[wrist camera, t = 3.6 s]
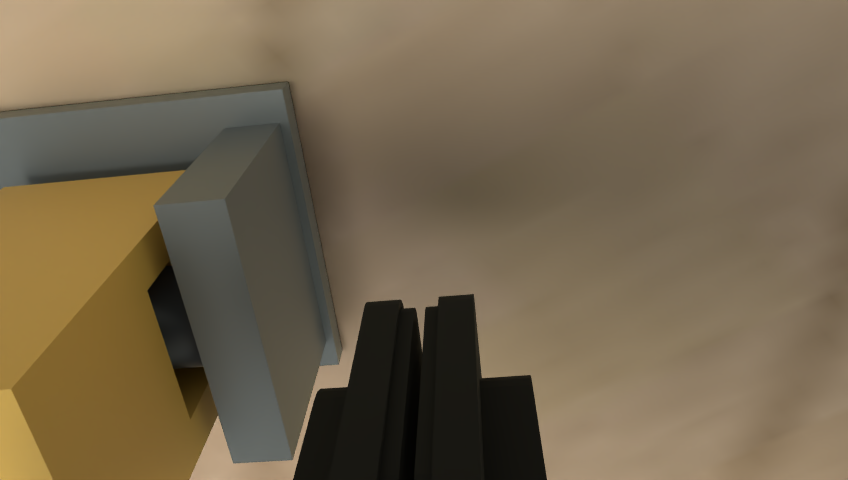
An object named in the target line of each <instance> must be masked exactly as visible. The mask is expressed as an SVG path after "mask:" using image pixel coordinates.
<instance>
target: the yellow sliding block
mask: <svg viewBox="0 0 848 480" xmlns="http://www.w3.org/2000/svg"><path fill="white" fill-rule="evenodd" d="M185 171H186V170H180V171H170V172H159V173H149V174H138V175H128V176H117V177H107V178H96V179H85V180H75V181H64V182H54V183H43V184H33V185H22V186H12V187H4V188H2V189H1V190H0V480H189V479H190V477H191V474H192V472H193V470H194V468H195V465H196V463H197V461H198V459H199V456H200V454H201V452H202V450H203V447H204V445H205V443H206V441H207V438H208V436H209V434H210V432H211V429H212V427H213V425H214V423H215V420H216V418H217V416H218V412H217V409H216V406H215V403H214V400H213V396H212V393H211V390H210V387H209V383H208V380H207V377H206V374H205V371H204V367H193V368H179V369H173V366H172V363H171V360H170V357H169V354H168V351H167V348H166V345H165V342H164V339H163V336H162V333H161V330H160V327H159V324H158V321H157V318H156V315H155V312H154V309H153V306H152V303H151V300H150V297H149V294H148V291H147V290H148V289H149V288H150V286H151V285H152V284H153V282H154V281H155V279H156V278H157V277H158V275H159V274H160V273H161V271H162V270H163V269H164V267H165V266H172V264H171V261H170V258H169V254H168V251H167V248H166V245H165V242H164V238H163V235H162V232H161V229H160V225H159V222H158V219H157V216H156V213H155V209H154V206H153V205H154V204H155V203H156V202H157V201H158V200H159V199H160V198H161V197H162V195H163V194H164V193H165V192H166V191H167V190H168V189H169V188H170V187H171V186H172V185H173V184H174V182H175V181H176V180H177V179H178V178H179V177H180V176H181V175H182V174H183V173H184V172H185Z"/></svg>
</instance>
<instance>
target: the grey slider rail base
mask: <svg viewBox="0 0 848 480" xmlns="http://www.w3.org/2000/svg"><path fill="white" fill-rule="evenodd" d="M180 170H186V171H185V172H184V173H183V174H182V175H181V176H180V177H179V178H178V179H177V180H176V181H175V182H174V184H173V185H172V186H171V187H170V188H169V189H168V190H167V191H166V192H165V193H164V194H163V195H162V197H161V198H160V199H159V200H158V201H157V202H156V203H155V204H154V205H153V206H154V209H155V213H156V216H157V219H158V222H159V225H160V229H161V232H162V235H163V238H164V242H165V245H166V248H167V251H168V254H169V258H170V261H171V264H172V266H165V267H164V269H163V270H162V271H161V273H160V274H159V275H158V277H157V278H156V279H155V281H154V282H153V284H152V285H151V286H150V288H149V289H148V290H147V291H148V294H149V297H150V300H151V303H152V306H153V309H154V312H155V315H156V318H157V321H158V324H159V327H160V330H161V333H162V336H163V339H164V342H165V345H166V348H167V351H168V354H169V357H170V360H171V363H172V366H173V369H179V368H193V367H204V371H205V374H206V377H207V380H208V383H209V387H210V390H211V393H212V396H213V400H214V403H215V406H216V409H217V412H218V416H219V419H220V422H221V425H222V429H223V432H224V435H225V438H226V441H227V445H228V448H229V451H230V454H231V458H232V461H233V463H249V462H266V461H284V460H293V457H294V453H295V450H296V446H297V443H298V439H299V436H300V432H301V429H302V425H303V422H304V418H305V415H306V411H307V407H308V404H309V400H310V397H311V393H312V390H313V386H314V383H315V379H316V376H317V372H318V369H319V366H323V365H338V364H339V362H340V357H341V353H342V347H341V342H340V337H339V332H338V327H337V322H336V317H335V312H334V307H333V302H332V297H331V292H330V287H329V282H328V277H327V272H326V267H325V262H324V257H323V252H322V247H321V242H320V237H319V232H318V227H317V222H316V217H315V212H314V207H313V202H312V197H311V192H310V187H309V182H308V177H307V172H306V168H305V163H304V158H303V153H302V148H301V143H300V138H299V133H298V128H297V123H296V118H295V113H294V108H293V103H292V98H291V93H290V88H289V83H288V82H281V83H271V84H262V85H252V86H243V87H233V88H224V89H214V90H205V91H195V92H186V93H176V94H167V95H157V96H148V97H138V98H129V99H119V100H110V101H100V102H91V103H81V104H72V105H62V106H52V107H43V108H33V109H24V110H14V111H5V112H0V190H1V189H2V188H4V187H12V186H22V185H33V184H43V183H54V182H64V181H75V180H85V179H96V178H107V177H117V176H128V175H138V174H149V173H159V172H170V171H180Z"/></svg>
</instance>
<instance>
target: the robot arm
mask: <svg viewBox="0 0 848 480" xmlns="http://www.w3.org/2000/svg"><path fill="white" fill-rule="evenodd" d="M293 480H547V478H546V471H545V464H544V458H543V451H542V445H541V438H540V432H539V425H538V418H537V412H536V405H535V399H534V392H533V385H532V380H531V376H530V375H526V376H511V377H496V378H482V376H481V366H480V355H479V344H478V334H477V323H476V312H475V302H474V294H470V295H457V296H443V297H439V300H438V306H434V307H426V309H425V322H424V337H423V352H422V348H421V340H420V333H419V326H418V318H417V312H416V309H415V308H407V309H404V308H403V303H402V301H401V300H390V301H377V302H367V303H366V304H365V307H364V312H363V317H362V321H361V326H360V331H359V336H358V341H357V345H356V350H355V355H354V360H353V365H352V369H351V374H350V379H349V384H348V387H343V388H328V389H320V390H319V391H318V392H317V394H316V397H315V400H314V403H313V407H312V411H311V415H310V418H309V422H308V426H307V430H306V433H305V437H304V441H303V445H302V448H301V452H300V456H299V460H298V463H297V467H296V471H295V475H294V478H293Z"/></svg>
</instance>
